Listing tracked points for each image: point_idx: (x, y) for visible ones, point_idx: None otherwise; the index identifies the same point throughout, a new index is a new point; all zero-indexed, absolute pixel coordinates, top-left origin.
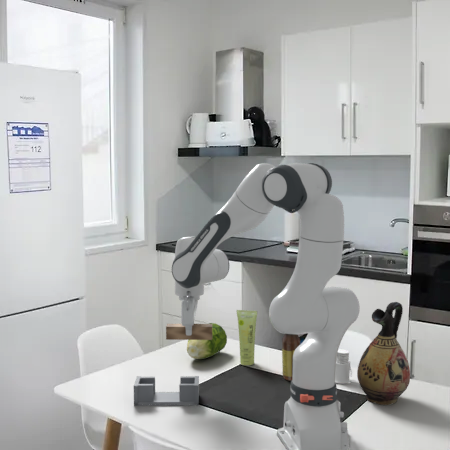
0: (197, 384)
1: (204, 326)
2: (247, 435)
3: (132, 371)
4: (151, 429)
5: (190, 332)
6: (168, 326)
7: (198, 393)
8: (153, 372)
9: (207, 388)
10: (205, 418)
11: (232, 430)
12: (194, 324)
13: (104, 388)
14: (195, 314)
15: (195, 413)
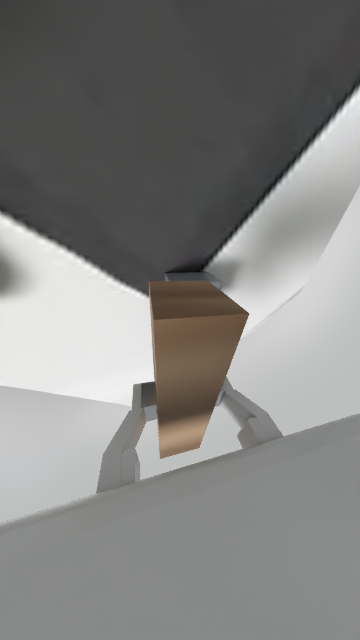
0: (216, 284)
1: (222, 359)
2: (332, 187)
3: (76, 374)
4: (258, 319)
5: (225, 381)
6: (196, 445)
7: (203, 276)
8: (69, 352)
9: (130, 256)
10: (253, 259)
11: (305, 215)
12: (172, 405)
13: (146, 380)
14: (190, 495)
15: (234, 275)
